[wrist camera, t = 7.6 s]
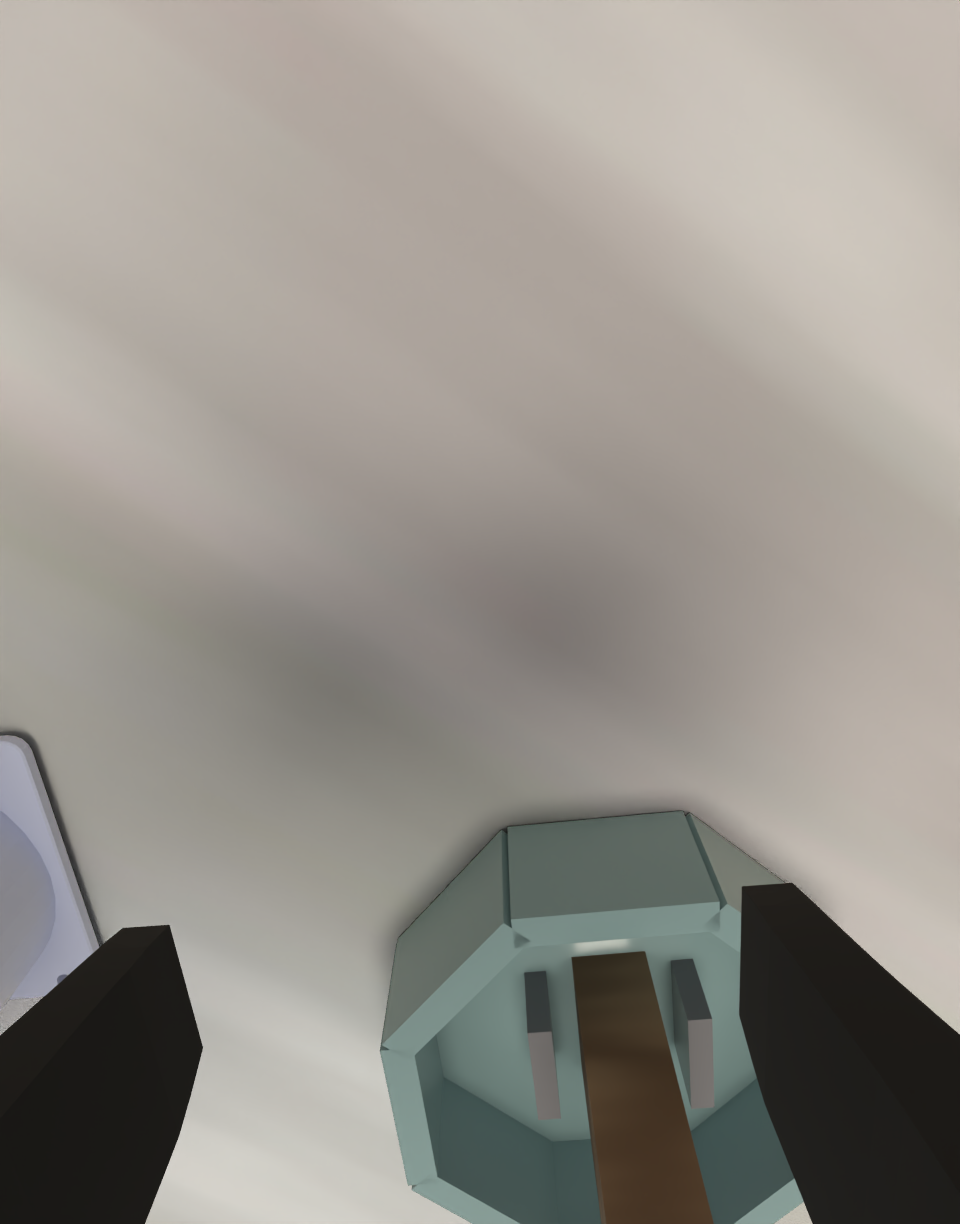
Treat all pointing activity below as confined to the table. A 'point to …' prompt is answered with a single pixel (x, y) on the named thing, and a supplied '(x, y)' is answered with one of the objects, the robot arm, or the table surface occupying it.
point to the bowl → (573, 1018)
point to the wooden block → (634, 1097)
